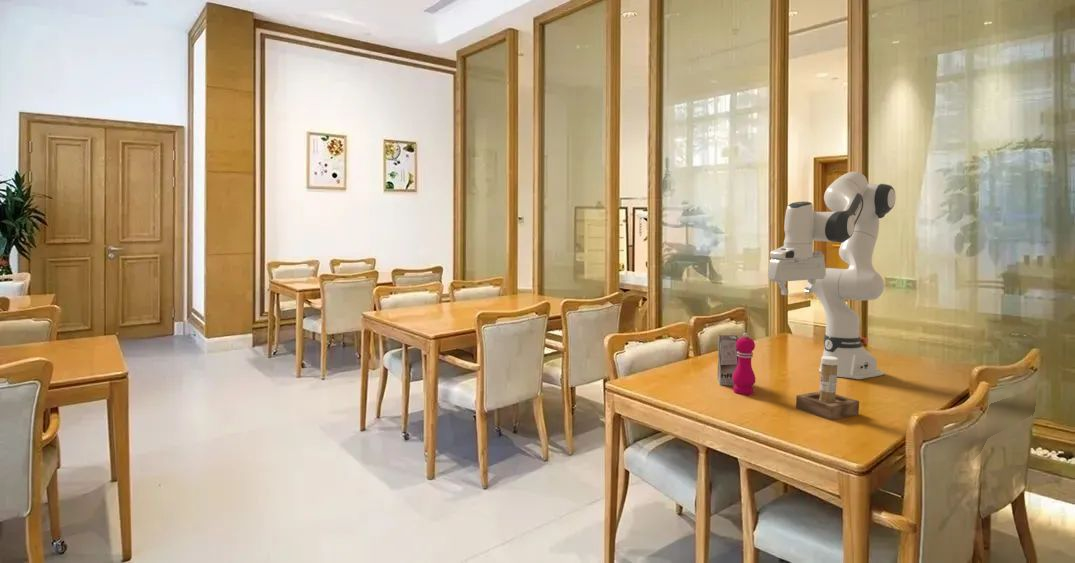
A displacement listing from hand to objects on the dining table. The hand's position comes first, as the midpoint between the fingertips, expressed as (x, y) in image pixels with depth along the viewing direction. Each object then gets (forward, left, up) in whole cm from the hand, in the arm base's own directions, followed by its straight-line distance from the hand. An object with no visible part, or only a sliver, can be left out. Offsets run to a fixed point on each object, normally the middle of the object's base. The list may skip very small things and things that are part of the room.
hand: (796, 293), depth 197 cm
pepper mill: (+17, -3, -33) cm, 37 cm away
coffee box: (+15, -15, -33) cm, 39 cm away
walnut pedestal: (+5, +21, -33) cm, 39 cm away
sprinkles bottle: (+5, +21, -30) cm, 37 cm away
